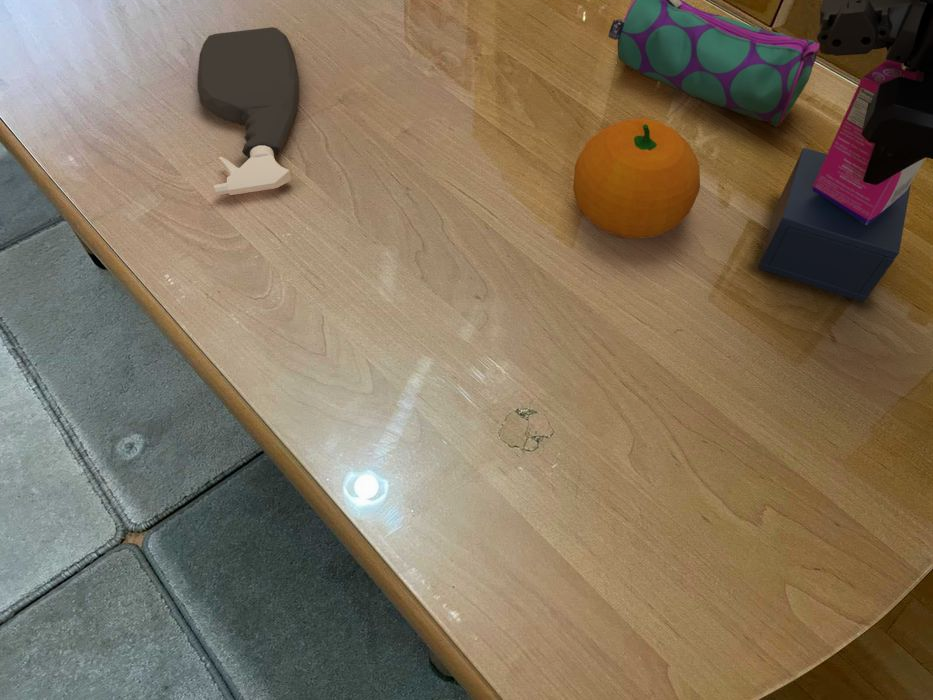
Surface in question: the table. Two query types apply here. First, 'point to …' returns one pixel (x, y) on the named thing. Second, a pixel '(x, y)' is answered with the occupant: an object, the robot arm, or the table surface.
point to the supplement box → (861, 156)
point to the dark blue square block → (820, 258)
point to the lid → (839, 213)
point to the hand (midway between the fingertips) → (875, 153)
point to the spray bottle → (251, 100)
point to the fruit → (636, 178)
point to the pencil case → (715, 57)
